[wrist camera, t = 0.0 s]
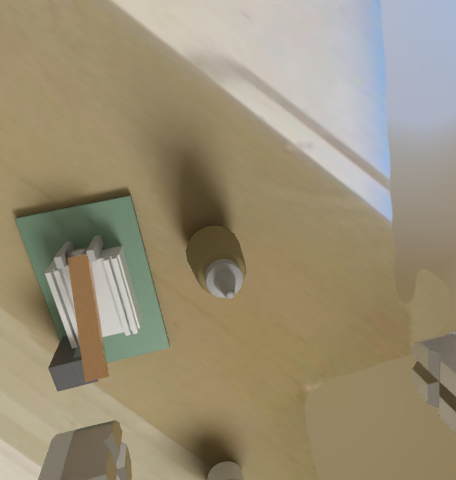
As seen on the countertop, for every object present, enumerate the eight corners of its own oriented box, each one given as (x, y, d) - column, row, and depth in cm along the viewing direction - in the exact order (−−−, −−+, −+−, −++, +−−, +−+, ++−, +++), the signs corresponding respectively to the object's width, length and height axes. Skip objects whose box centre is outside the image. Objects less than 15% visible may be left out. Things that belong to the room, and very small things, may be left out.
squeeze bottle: (227, 211, 58) (254, 250, 41) (241, 257, 61) (272, 311, 44) (177, 228, 58) (183, 274, 41) (194, 274, 61) (206, 335, 44)
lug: (62, 336, 59) (48, 368, 52) (98, 328, 59) (89, 358, 52) (70, 358, 60) (57, 391, 53) (105, 349, 61) (97, 381, 53)
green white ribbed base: (17, 217, 53) (-5, 232, 46) (130, 194, 55) (126, 206, 48) (73, 367, 62) (61, 400, 55) (169, 344, 64) (170, 372, 57)
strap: (69, 252, 51) (65, 250, 50) (89, 248, 52) (85, 246, 50) (88, 380, 48) (84, 382, 46) (109, 375, 48) (106, 377, 47)
